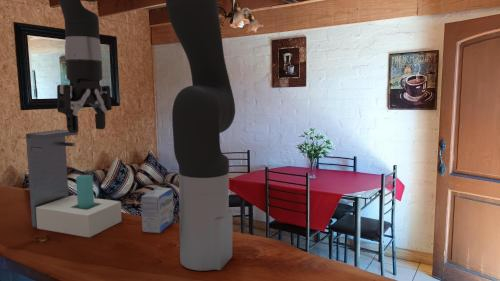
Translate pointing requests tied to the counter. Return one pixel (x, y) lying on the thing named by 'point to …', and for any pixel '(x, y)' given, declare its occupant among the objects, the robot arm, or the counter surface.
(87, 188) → the peg
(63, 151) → the grey upright panel
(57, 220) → the socket
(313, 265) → the counter surface
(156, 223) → the medicine box
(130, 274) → the counter surface
